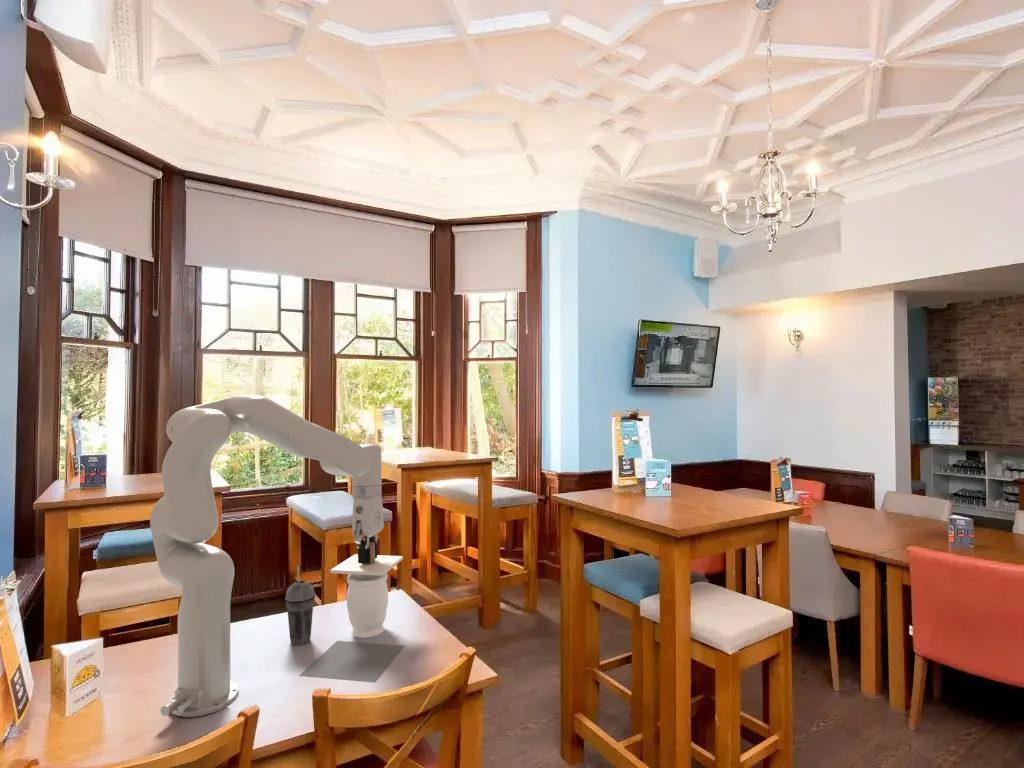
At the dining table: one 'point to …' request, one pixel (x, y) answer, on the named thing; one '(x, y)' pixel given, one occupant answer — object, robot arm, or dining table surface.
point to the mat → (353, 661)
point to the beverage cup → (300, 611)
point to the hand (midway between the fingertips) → (367, 559)
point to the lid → (373, 568)
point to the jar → (367, 604)
